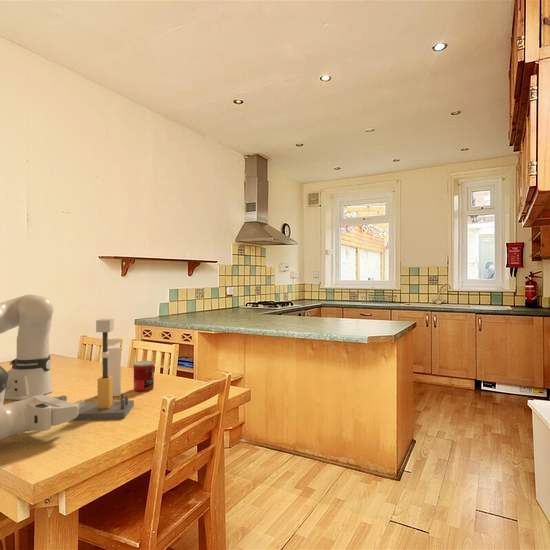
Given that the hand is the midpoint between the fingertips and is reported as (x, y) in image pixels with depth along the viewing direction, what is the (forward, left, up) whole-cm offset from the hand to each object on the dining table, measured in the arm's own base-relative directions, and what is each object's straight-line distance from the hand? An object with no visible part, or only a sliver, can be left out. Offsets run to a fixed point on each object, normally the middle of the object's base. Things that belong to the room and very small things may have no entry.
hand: (74, 400), depth 123 cm
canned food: (+13, +35, -8) cm, 38 cm away
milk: (+2, +29, -8) cm, 30 cm away
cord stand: (+6, +9, -7) cm, 13 cm away
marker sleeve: (+6, +9, -5) cm, 12 cm away
